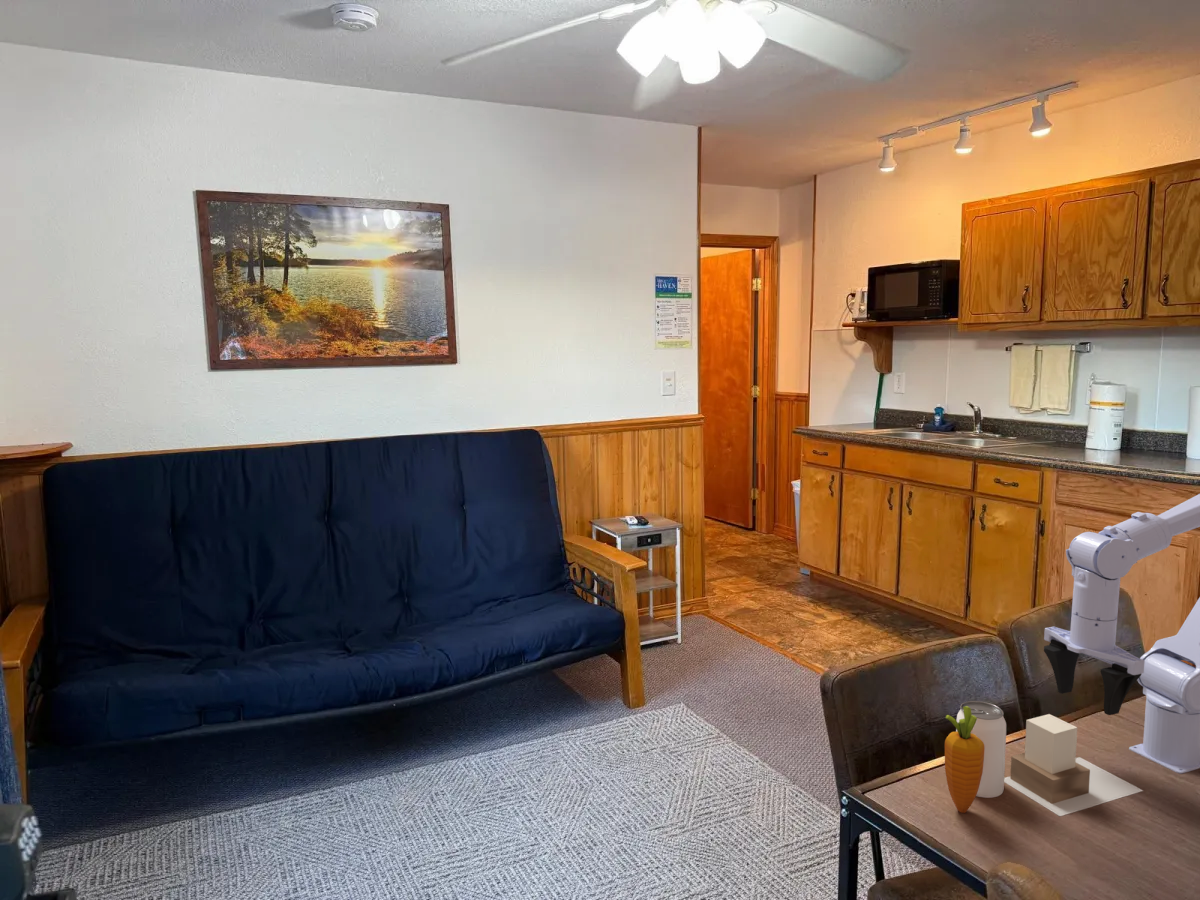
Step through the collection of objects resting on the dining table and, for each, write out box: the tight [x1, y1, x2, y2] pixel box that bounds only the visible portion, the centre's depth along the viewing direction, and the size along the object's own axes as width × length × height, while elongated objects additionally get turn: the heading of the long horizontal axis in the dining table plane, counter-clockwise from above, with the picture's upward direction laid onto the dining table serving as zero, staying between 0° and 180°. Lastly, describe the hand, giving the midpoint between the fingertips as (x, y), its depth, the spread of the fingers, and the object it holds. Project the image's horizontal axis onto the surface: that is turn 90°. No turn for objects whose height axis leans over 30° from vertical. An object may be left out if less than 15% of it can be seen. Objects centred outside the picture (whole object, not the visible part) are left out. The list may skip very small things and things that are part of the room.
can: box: [955, 700, 1007, 799], centre depth 115 cm, size 6×6×12 cm
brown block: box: [1010, 752, 1090, 804], centre depth 114 cm, size 7×7×4 cm
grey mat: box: [1004, 757, 1144, 817], centre depth 115 cm, size 16×10×1 cm, turn 110°
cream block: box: [1024, 713, 1078, 774], centre depth 114 cm, size 4×4×6 cm
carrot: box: [944, 706, 985, 814], centre depth 108 cm, size 5×5×15 cm
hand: (1087, 702), depth 119 cm, fingers open, 7 cm apart
